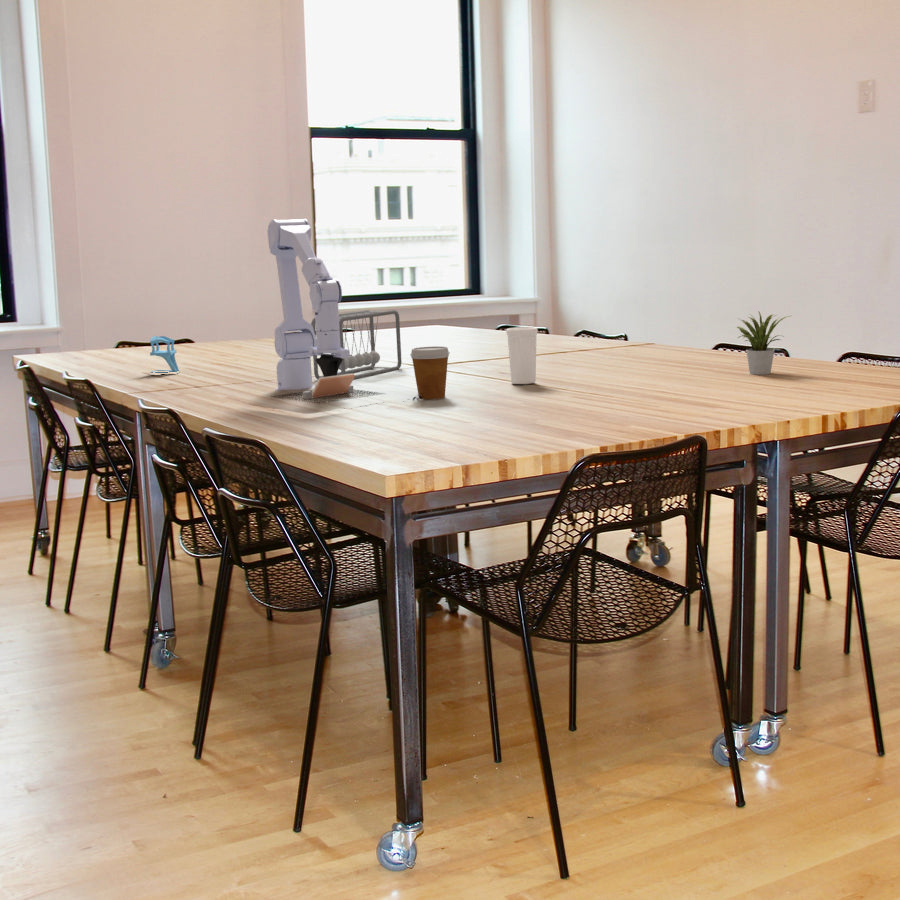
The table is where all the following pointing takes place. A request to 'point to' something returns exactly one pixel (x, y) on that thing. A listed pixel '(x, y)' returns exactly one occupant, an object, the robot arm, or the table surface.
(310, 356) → the robot arm
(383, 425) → the table surface
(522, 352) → the cup
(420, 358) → the disposable coffee cup
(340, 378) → the tile
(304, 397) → the board
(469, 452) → the table surface
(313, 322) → the newton's cradle
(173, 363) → the chair
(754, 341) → the house plant
